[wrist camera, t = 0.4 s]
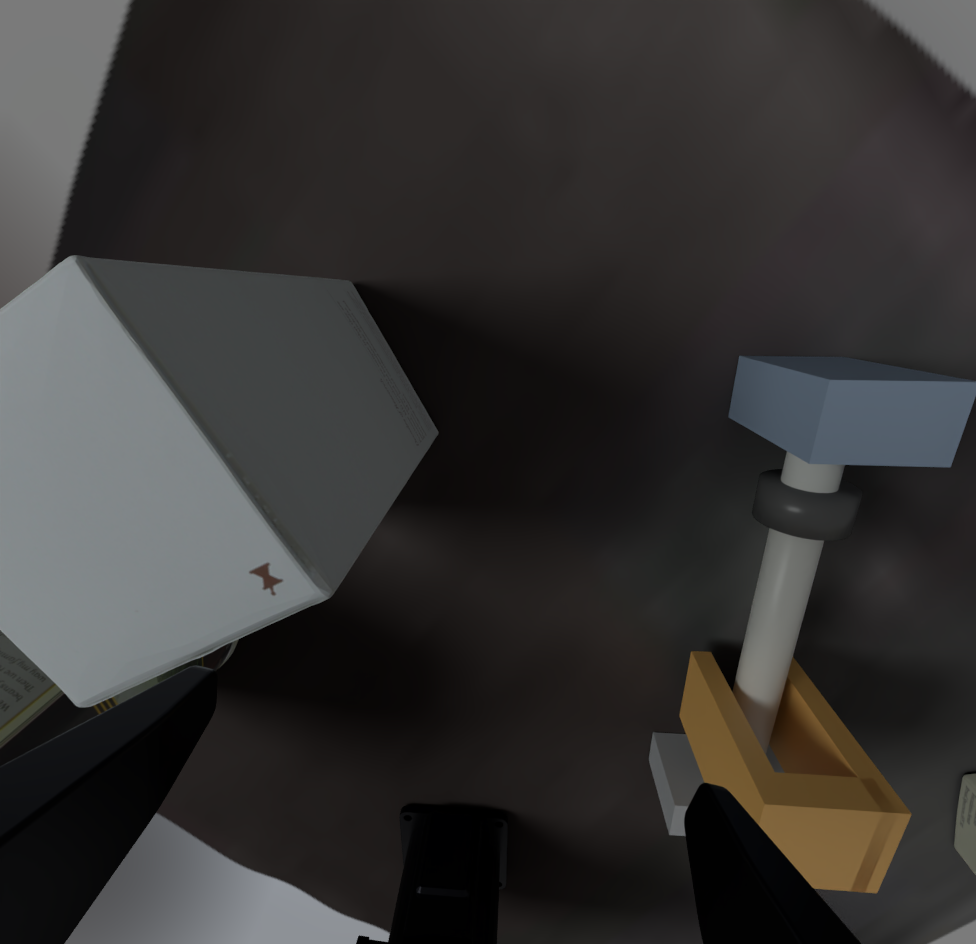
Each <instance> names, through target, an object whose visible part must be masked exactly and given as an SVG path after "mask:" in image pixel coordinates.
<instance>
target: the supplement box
mask: <svg viewBox="0 0 976 944" xmlns="http://www.w3.org/2000/svg"><path fill="white" fill-rule="evenodd" d="M438 433H439V432H438V430H437V429H436V427H435V425H434V423H433V422H432V420H431V418H430V416H429V415H428V413H427V411H426V409H425V407H424V406H423V404H422V402H421V401H420V399H419V397H418V396H417V394H416V392H415V390H414V389H413V387H412V385H411V383H410V381H409V380H408V378H407V376H406V374H405V373H404V371H403V370H402V368H401V366H400V364H399V363H398V361H397V359H396V357H395V355H394V354H393V352H392V350H391V349H390V347H389V345H388V344H387V342H386V340H385V338H384V337H383V335H382V333H381V331H380V330H379V328H378V326H377V324H376V323H375V321H374V319H373V318H372V316H371V315H370V313H369V311H368V309H367V307H366V305H365V304H364V302H363V300H362V299H361V297H360V295H359V294H358V292H357V290H356V288H355V287H354V285H353V284H352V283H351V282H350V281H347V280H337V279H327V278H317V277H304V276H292V275H281V274H268V273H255V272H244V271H234V270H222V269H210V268H198V267H186V266H176V265H165V264H154V263H142V262H131V261H121V260H109V259H98V258H89V257H83V256H77V255H75V256H70V257H68V258H67V259H65V260H64V261H62V262H61V263H59V264H58V265H57V266H56V267H54V268H53V269H52V270H50V271H49V272H48V273H47V274H46V275H44V276H43V277H42V278H41V279H40V280H38V281H37V282H36V283H34V284H33V285H31V286H30V287H29V288H27V289H26V290H25V291H23V292H22V293H21V294H20V295H18V296H17V297H16V298H14V299H13V300H12V301H10V302H9V303H8V304H7V305H5V306H4V307H3V308H1V309H0V630H1V631H2V632H3V633H4V634H5V635H6V636H7V637H8V638H9V639H10V640H11V641H12V642H13V643H14V644H15V645H16V646H17V647H18V648H19V649H20V650H21V651H22V652H23V653H24V654H25V655H26V656H27V657H28V658H29V659H30V660H31V661H33V662H34V663H35V664H36V665H37V666H38V667H39V668H40V669H41V670H42V671H43V672H44V673H45V674H46V675H47V676H48V677H49V678H50V679H51V680H52V681H53V682H54V683H55V684H56V685H57V686H58V687H59V688H60V689H61V690H62V691H63V692H64V693H65V694H66V695H67V696H68V698H69V699H70V700H71V701H72V702H73V703H74V704H75V705H76V706H77V707H91V706H94V705H96V704H98V703H100V702H102V701H104V700H107V699H109V698H111V697H114V696H116V695H118V694H120V693H122V692H124V691H126V690H128V689H130V688H132V687H135V686H137V685H139V684H141V683H143V682H146V681H148V680H150V679H152V678H154V677H157V676H159V675H161V674H163V673H165V672H167V671H169V670H172V669H174V668H176V667H178V666H180V665H183V664H185V663H188V662H190V661H193V660H195V659H198V658H201V657H203V656H205V655H207V654H210V653H212V652H214V651H215V650H217V649H219V648H220V647H222V646H224V645H226V644H228V643H231V642H233V641H235V640H238V639H240V638H242V637H244V636H246V635H248V634H250V633H253V632H255V631H257V630H259V629H261V628H264V627H266V626H268V625H270V624H272V623H275V622H277V621H279V620H281V619H283V618H286V617H288V616H290V615H292V614H294V613H297V612H299V611H301V610H303V609H305V608H308V607H310V606H312V605H315V604H318V603H321V602H323V601H325V600H327V599H329V598H331V597H332V595H333V594H334V593H335V591H336V590H337V588H338V587H339V585H340V584H341V582H342V581H343V579H344V578H345V576H346V575H347V573H348V572H349V570H350V568H351V567H352V565H353V564H354V562H355V561H356V559H357V558H358V556H359V555H360V553H361V552H362V550H363V548H364V547H365V545H366V544H367V542H368V541H369V539H370V538H371V536H372V534H373V533H374V531H375V530H376V528H377V527H378V525H379V524H380V522H381V521H382V519H383V518H384V516H385V515H386V513H387V512H388V510H389V509H390V507H391V505H392V504H393V502H394V501H395V499H396V498H397V496H398V495H399V493H400V492H401V490H402V489H403V487H404V486H405V484H406V483H407V481H408V480H409V478H410V476H411V475H412V473H413V472H414V470H415V469H416V467H417V466H418V464H419V463H420V461H421V460H422V458H423V457H424V455H425V454H426V452H427V451H428V449H429V448H430V446H431V444H432V443H433V441H434V440H435V438H436V437H437V436H438Z"/></svg>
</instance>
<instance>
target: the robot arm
mask: <svg viewBox="0 0 976 944" xmlns="http://www.w3.org/2000/svg"><path fill="white" fill-rule="evenodd" d="M216 699H217V672H216V671H215V670H214V669H210V668H206V667H201V666H191V667H188V668H186V669H184V670H183V671H181V672H179V673H177V674H175V675H173V676H171V677H169V678H167V679H165V680H164V681H162V682H160V683H158V684H156V685H154V686H152V687H150V688H148V689H146V690H144V691H143V692H141V693H139V694H137V695H135V696H133V697H131V698H129V699H127V700H125V701H124V702H122V703H120V704H118V705H116V706H114V707H112V708H110V709H108V710H106V711H105V712H103V713H101V714H99V715H97V716H95V717H93V718H91V719H89V720H87V721H85V722H84V723H82V724H80V725H78V726H76V727H74V728H72V729H70V730H68V731H66V732H65V733H63V734H61V735H59V736H57V737H55V738H53V739H51V740H49V741H47V742H46V743H44V744H42V745H40V746H38V747H36V748H34V749H32V750H30V751H28V752H26V753H25V754H23V755H21V756H19V757H17V758H15V759H13V760H11V761H9V762H7V763H6V764H4V765H2V766H0V944H64V943H65V942H66V940H67V939H68V938H69V936H70V935H71V933H72V932H73V930H74V929H75V928H76V926H77V925H78V923H79V922H80V920H81V919H82V918H83V916H84V915H85V913H86V912H87V911H88V909H89V908H90V906H91V905H92V903H93V902H94V901H95V899H96V898H97V896H98V895H99V893H100V892H101V891H102V889H103V888H104V886H105V885H106V883H107V882H108V881H109V879H110V878H111V876H112V875H113V873H114V872H115V871H116V869H117V868H118V866H119V865H120V864H121V862H122V861H123V859H124V858H125V856H126V855H127V854H128V852H129V851H130V849H131V848H132V846H133V845H134V844H135V842H136V841H137V839H138V838H139V836H140V835H141V834H142V832H143V831H144V829H145V828H146V827H147V825H148V824H149V822H150V821H151V819H152V818H153V816H154V815H155V813H156V812H157V810H158V809H159V807H160V806H161V804H162V802H163V801H164V799H165V797H166V796H167V794H168V792H169V791H170V789H171V787H172V786H173V784H174V782H175V780H176V779H177V777H178V775H179V773H180V772H181V770H182V768H183V766H184V765H185V763H186V761H187V760H188V758H189V756H190V754H191V753H192V751H193V749H194V747H195V746H196V744H197V742H198V741H199V739H200V737H201V735H202V734H203V732H204V730H205V728H206V727H207V725H208V723H209V721H210V720H211V718H212V716H213V713H214V711H215V707H216ZM684 828H685V835H686V842H687V848H688V855H689V861H690V868H691V874H692V881H693V888H694V894H695V901H696V907H697V914H698V919H699V925H700V930H701V935H702V940H703V944H861V943H860V942H859V941H858V939H857V938H856V937H855V936H854V935H853V934H852V932H851V931H850V930H849V929H848V928H847V927H846V925H845V924H844V923H843V922H842V921H841V920H840V919H839V917H838V916H837V915H836V914H835V913H834V912H833V910H832V909H831V908H830V907H829V906H828V905H827V904H826V902H825V901H824V900H823V899H822V898H821V897H820V895H819V894H818V893H817V892H816V891H815V890H814V889H813V887H812V886H811V885H810V884H809V883H808V882H807V880H806V879H805V878H804V877H803V876H802V875H801V873H800V872H799V871H798V870H797V869H796V868H795V867H794V865H793V864H792V863H791V862H790V861H789V860H788V858H787V857H786V856H785V855H784V854H783V853H782V852H781V850H780V849H779V848H778V847H777V846H776V845H775V843H774V842H773V841H772V840H771V839H770V838H769V837H768V835H767V834H766V833H765V832H764V831H763V830H762V828H761V827H760V826H759V825H758V824H757V823H756V822H755V820H754V819H753V818H752V817H751V816H750V815H749V813H748V812H747V811H746V810H745V809H744V808H743V806H742V805H741V804H740V803H739V802H738V801H737V800H736V798H735V797H734V796H733V795H732V794H731V793H730V792H729V791H728V790H727V789H726V788H724V787H722V786H718V785H714V784H710V783H702V784H701V785H699V787H698V789H697V791H696V793H695V795H694V796H693V798H692V800H691V802H690V804H689V806H688V808H687V810H686V812H685V817H684ZM400 829H401V840H402V852H403V864H404V869H403V873H402V878H401V883H400V888H399V893H398V897H397V902H396V907H395V912H394V917H393V921H392V926H391V931H390V936H389V941H388V942H382V941H375V940H369V937H365V936H358V940H357V943H356V944H497V926H498V901H499V889H504V888H505V887H506V870H507V830H508V817H507V815H506V814H504V813H502V812H493V811H478V810H464V809H450V808H436V807H422V806H404V807H403V808H402V809H401V813H400Z"/></svg>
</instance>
